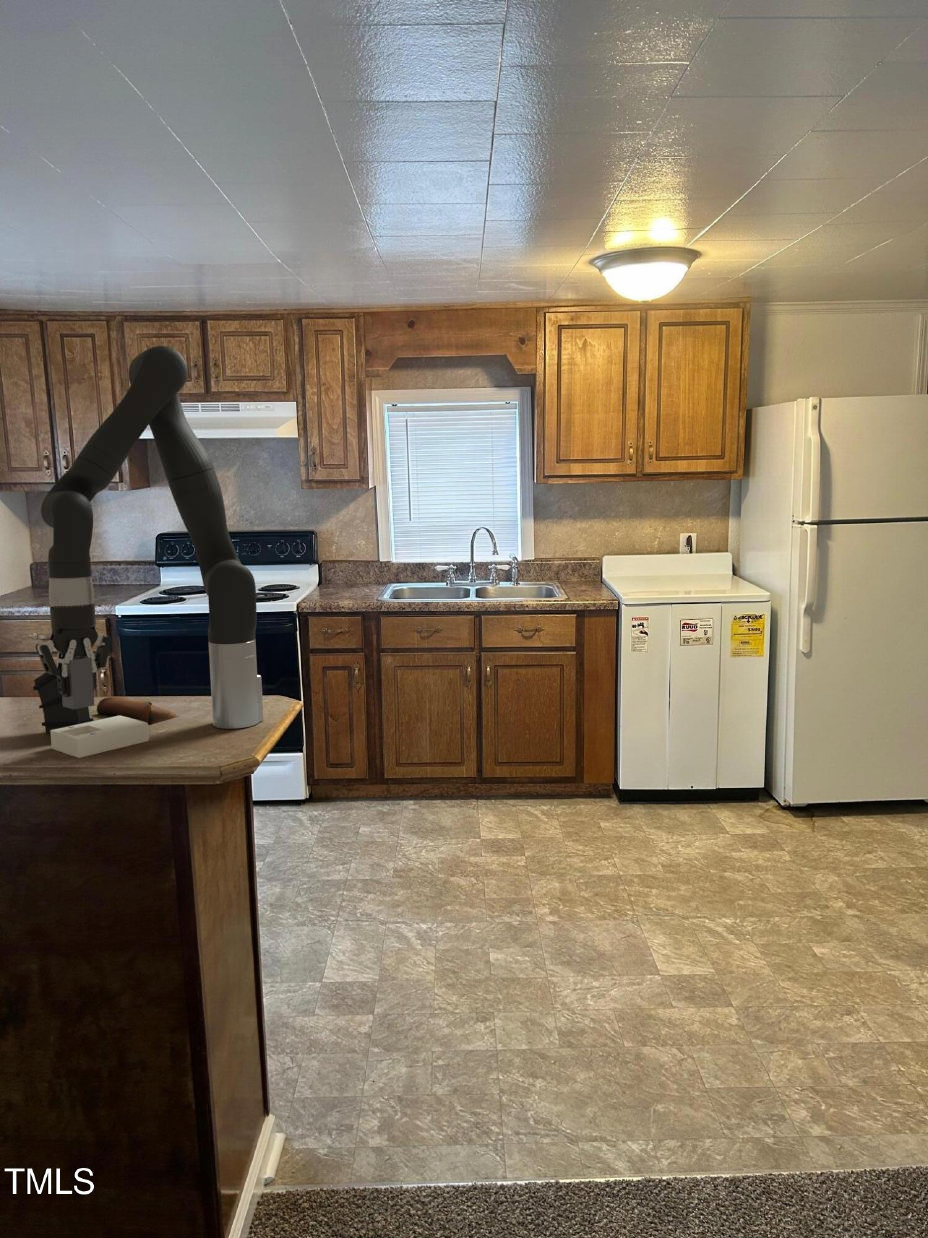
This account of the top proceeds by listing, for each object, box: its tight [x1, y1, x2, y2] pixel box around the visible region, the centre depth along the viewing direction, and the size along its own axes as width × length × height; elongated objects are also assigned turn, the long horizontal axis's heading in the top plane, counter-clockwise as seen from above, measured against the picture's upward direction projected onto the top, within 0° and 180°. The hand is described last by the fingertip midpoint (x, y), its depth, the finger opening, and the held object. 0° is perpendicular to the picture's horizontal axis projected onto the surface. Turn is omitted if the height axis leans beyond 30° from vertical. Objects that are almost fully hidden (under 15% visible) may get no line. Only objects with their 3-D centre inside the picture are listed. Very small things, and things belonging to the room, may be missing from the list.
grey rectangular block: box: [62, 656, 95, 709], centre depth 166 cm, size 4×4×9 cm
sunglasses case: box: [96, 696, 180, 725], centre depth 192 cm, size 18×7×7 cm, turn 57°
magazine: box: [32, 664, 94, 735], centre depth 177 cm, size 4×13×15 cm, turn 58°
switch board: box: [50, 715, 150, 759], centre depth 170 cm, size 14×10×4 cm
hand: (77, 693), depth 166 cm, fingers closed on grey rectangular block, 4 cm apart
